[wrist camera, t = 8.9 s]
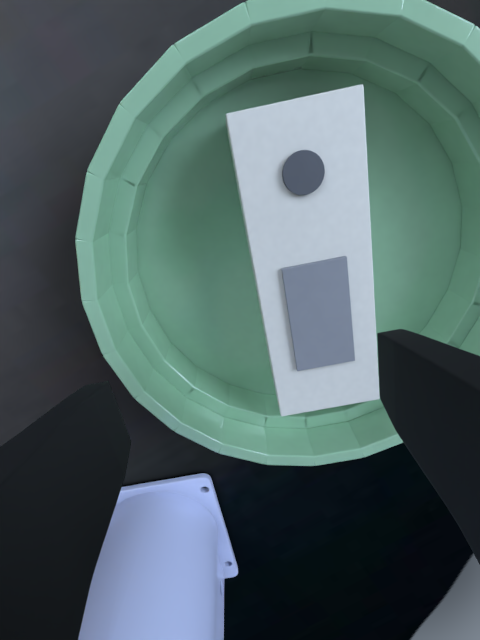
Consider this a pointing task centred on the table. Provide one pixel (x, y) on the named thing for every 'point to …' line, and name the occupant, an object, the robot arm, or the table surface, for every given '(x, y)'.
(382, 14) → the bowl
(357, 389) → the remote
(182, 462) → the table surface
